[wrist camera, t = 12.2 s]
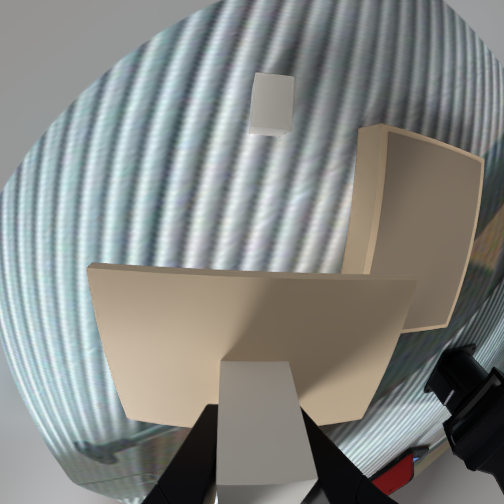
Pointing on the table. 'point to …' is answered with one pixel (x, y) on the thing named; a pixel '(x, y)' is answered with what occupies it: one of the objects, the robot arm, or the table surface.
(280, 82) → the white block
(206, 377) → the flap near
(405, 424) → the table surface
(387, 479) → the handheld game console
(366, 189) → the carton
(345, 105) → the table surface
